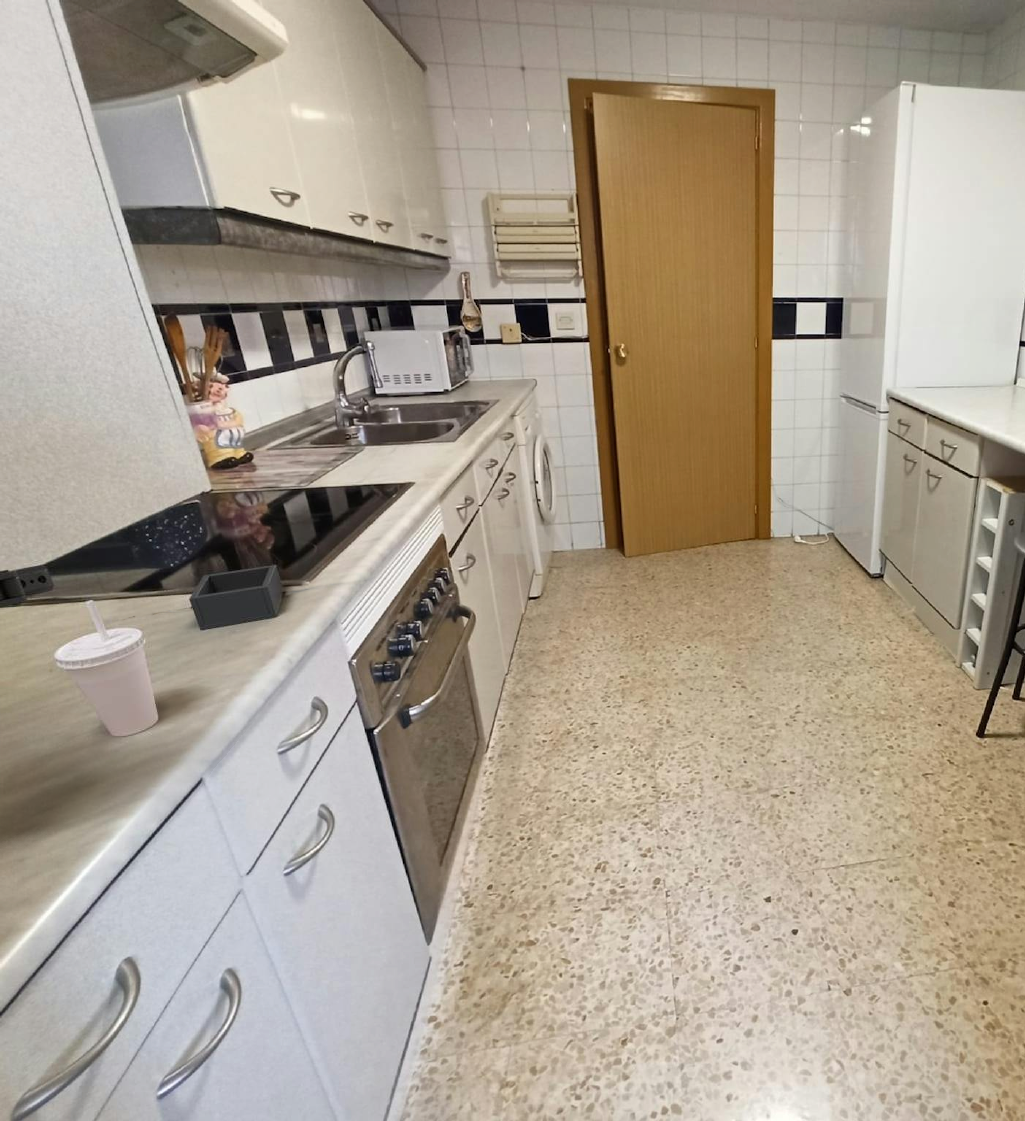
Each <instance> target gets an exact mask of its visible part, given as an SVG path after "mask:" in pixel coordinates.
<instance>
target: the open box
mask: <svg viewBox="0 0 1025 1121" xmlns="http://www.w3.org/2000/svg"><path fill="white" fill-rule="evenodd" d="M284 596H285V591H284V587H283V583H282V580H281V577H280V573H279V571H278V567H277V564H272V565H264V566H258V567H252V568H245V569H239V570H238V569H237V570H232V571H226V572H218V573H217V572H216V573H210V574H204V575H203V576H202V578H201V579H200V581H199V582H198V584H197V586H196V587H195V589H194V591H192V594H191V595H190V597H189V598H188V600H189V603H190V605H191V609H192V611H193V614H194V617H195V619H196V623H197V624H198V628H199V630H200V631H205V630H210V629H215V628H221V627H226V626H233V625H239V624H244V623H249V622H256V621H261V620H267V619H272V618H273V619H274V618H277V617H278V614H279V611H280V608H281V604H282V602H283V599H284Z"/></svg>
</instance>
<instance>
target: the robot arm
mask: <svg viewBox="0 0 1025 1121" xmlns="http://www.w3.org/2000/svg"><path fill="white" fill-rule="evenodd" d="M54 588H55V584H54V582H53V579H52V577H51V573H50V571H49V568H48V567H47V566H45V565H43V564H39V565H32V566H26V567H23V568H17V569H12V570H9V569H3V570H0V609H2V608H5V607H9V606H12V607H16V606H21V605H23V603H26V602H28V601H29V600H28V597H31V596H35V595H39V594H43V593H48V592H51V591H53V590H54Z"/></svg>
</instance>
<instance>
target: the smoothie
mask: <svg viewBox="0 0 1025 1121" xmlns="http://www.w3.org/2000/svg"><path fill="white" fill-rule="evenodd" d="M85 605H86V607H87V610H88V612H89V614H90V617H91V618H92V621H93V623H94V626H95V628H96V630H97V632H92V633H89V634H86V635H84V636H80V637H77V638H76V639H73V640H71V641H69V642H67V643H65V644H63V645H62V646H60V647H59V648H58V649H56V651H55V652H54V654H53V656H54V660H55V661H56V666H57V667H59V668H61V669H63V670H64V669H65V671H66V672H67V674H68V675H69V677H70V679H71V680H72V682H74V684H75V685H76V687H77V688H78V689H79V691H80V692H81V693H82V695H83V696H84V698H85V700H87V702H88V703H89V705H90V707H91V708H92V709H93V710H94V712H95V713H96V715H97V716H98V718H99V719H100V720H101V722H102V723H103V724H104V726H105V727H106V729H107V730H108V732H109V733H110V735H111V736H113V737H118V738H119V737H128V736H132V735H136V734H139V733H141V732H143V731H146V730H148V729H149V728H151V727H152V726H154V725H155V724H156V723H158V721H159V715H158V710H157V705H156V701H155V697H154V692H153V687H152V682H151V677H150V673H149V667H148V664H147V663H148V662H147V658H146V654H145V650H144V645H145V644H146V638H145V637H144V635H143V632H142V631H141V630H140V629H138V628H133V627H119V628H112V629H106V627H105V624H104V622H103V620H102V618H101V615H100V613H99V610H98V608H97V606H96V603H95V600H93V599H91V600H86V601H85Z"/></svg>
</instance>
